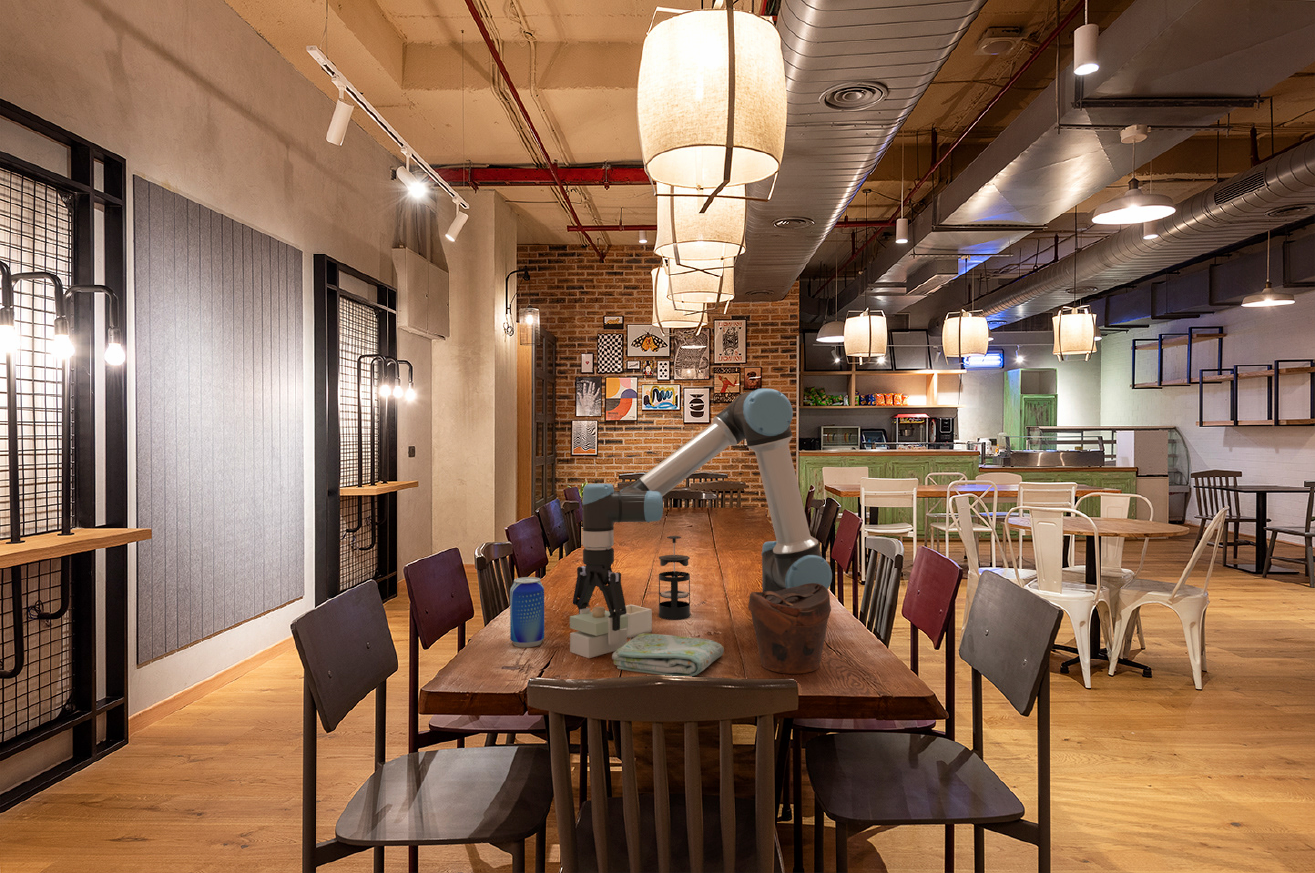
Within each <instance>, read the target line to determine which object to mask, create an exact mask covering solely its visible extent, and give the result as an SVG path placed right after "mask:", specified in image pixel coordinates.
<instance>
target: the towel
mask: <svg viewBox="0 0 1315 873" xmlns="http://www.w3.org/2000/svg"><path fill="white" fill-rule="evenodd" d="M724 651H725V649H724V646H723V645H722V644H721V643H719V642H716V641H715V640H712V639H707V638H702V637H689V636H688V637H687V636H680V635H670V634H658V633H645V634H639V635H638V636H636V637H632V638H630V640H628V641H627V643H626V644H625V645H624V646H622V647H621V648H619V649H618V650H616V651H613V653H612V654H611V659H612V660H613V665H616V666H617V667H616V668H617V669H618V670H623V671H628V672H636V673H642V674H643V673H646V674H653V675H659V676H660V675H661V676H665V675H672V676H671V677H673V676H692V677H695V676H697V675H698V674H700V673H702V672H703V671H704V670H706V669H707V668H708V667H710V665H711V664H713V663H714V662H715V661H717V659H719V658H721V657H722V656H723V654H724Z"/></svg>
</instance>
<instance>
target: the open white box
mask: <svg viewBox="0 0 1315 873" xmlns="http://www.w3.org/2000/svg"><path fill="white" fill-rule="evenodd" d="M625 606H626V611H627V613H626V614H624V615H626V616H628V628H625V629H627V639H633V638H635V637H636V636H638V635H639V634H645V633H649V634H651V633H653V618H652V617H653V614H652V613H653V611H652V610H653V609H652V608H649V607H643V606H640V605H637V604H636V605H635V604H627V605H625ZM620 610H621V609H620ZM614 612H615V610H614Z"/></svg>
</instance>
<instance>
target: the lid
mask: <svg viewBox="0 0 1315 873" xmlns="http://www.w3.org/2000/svg"><path fill="white" fill-rule="evenodd" d="M608 616H610V612H609V610H606V607H604V606H594V607H592V610H590V612H587V613H583V614H579V613H578V614H575V615H571V616H569V628H570V629H572V630H575V631H581V632H585V633H588V634H591V635H595V636H598V635H602V634H606V633H608ZM625 628H628V616H626V615H621V616H620V630H621V629H625Z"/></svg>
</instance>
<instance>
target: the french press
mask: <svg viewBox="0 0 1315 873" xmlns="http://www.w3.org/2000/svg"><path fill="white" fill-rule="evenodd" d="M666 538H667V539H669V540H670V539H671V540H672V541H671V542H672V543H673V554H668V555H667V554H665V555H661V556H660V555H659V556H658V559H659V561H660V562H659V563H660V564H659V565H660V566H661V567H665V566H666V565H667V564H669V563H673V570H671V571H663V572H659V573H658V614H657V616H658V618H661V619H663V620H671V621H676V620H677V621H679V620H684V619H685V620H687V619H689V618H690V617H691V616H692V615H691V590H690V589H691V578H690V577H691V574H690V573H689V572H686V571H678V570H676V563H679V564H680V565H682V566H683V567H687V566H689V560H690V559H691V558H690V556H688V555H683V554H682V555H681V554H676V551H675V550H676V543H677V542H676V541H677V539H682V536H679V535H668V536H666ZM661 581H662V582H667V583H669V582H670V590H664V591H661ZM686 581H688V592H687V591H684V590H679V582H686ZM661 597H662V598H664V599H668V601H667V600H664V601H662V602H661ZM684 598H685V599H686V598H688V602H687V601H682V600H679V599H684ZM669 599H670V600H669Z"/></svg>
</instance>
